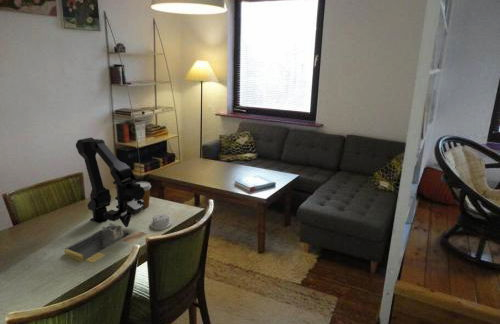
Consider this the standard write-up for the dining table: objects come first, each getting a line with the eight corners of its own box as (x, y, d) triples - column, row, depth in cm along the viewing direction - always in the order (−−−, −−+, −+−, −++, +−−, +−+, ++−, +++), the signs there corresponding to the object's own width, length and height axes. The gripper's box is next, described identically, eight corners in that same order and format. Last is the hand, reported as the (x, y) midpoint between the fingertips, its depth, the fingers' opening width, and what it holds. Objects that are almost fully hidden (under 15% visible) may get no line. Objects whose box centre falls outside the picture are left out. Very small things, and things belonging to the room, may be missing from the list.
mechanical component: (146, 228, 161) (166, 231, 159) (145, 220, 160) (166, 222, 158) (156, 219, 171) (175, 222, 169) (155, 211, 169) (175, 213, 168)
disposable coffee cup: (136, 202, 190) (135, 181, 186) (154, 202, 190) (153, 181, 186) (130, 209, 181) (128, 187, 177) (149, 210, 180) (147, 188, 177)
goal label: (85, 260, 135) (85, 259, 135) (98, 252, 140) (98, 252, 140) (92, 262, 133) (92, 262, 133) (105, 255, 139) (105, 255, 138)
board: (120, 240, 150) (120, 240, 150) (137, 230, 159) (137, 230, 159) (130, 243, 148) (130, 243, 148) (147, 234, 156) (147, 233, 156)
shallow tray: (62, 254, 138) (62, 249, 138) (113, 228, 160) (112, 224, 159) (80, 261, 134) (80, 256, 133) (130, 234, 155) (129, 229, 155)
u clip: (102, 237, 152) (101, 227, 151) (111, 232, 156) (110, 223, 155) (114, 241, 149) (113, 231, 148) (123, 236, 153) (122, 226, 152)
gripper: (121, 205, 143) (123, 240, 148) (152, 191, 159) (154, 222, 164) (101, 200, 148) (104, 233, 152) (134, 186, 164) (136, 217, 168)
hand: (126, 226), depth 159 cm, fingers closed
